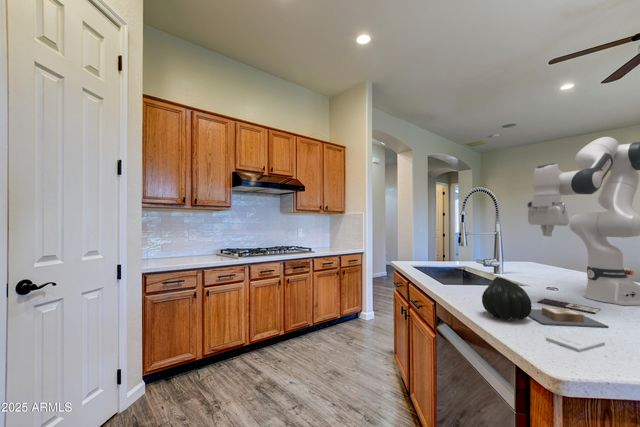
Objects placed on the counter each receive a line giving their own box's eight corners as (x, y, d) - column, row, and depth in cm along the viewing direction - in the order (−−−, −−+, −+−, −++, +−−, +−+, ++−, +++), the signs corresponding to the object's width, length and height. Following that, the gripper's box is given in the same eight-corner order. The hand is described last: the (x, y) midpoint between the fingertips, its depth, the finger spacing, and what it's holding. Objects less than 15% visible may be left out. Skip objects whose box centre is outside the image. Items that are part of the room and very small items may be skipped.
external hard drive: (604, 347, 82) (579, 354, 77) (570, 336, 90) (545, 342, 85) (604, 341, 82) (579, 348, 77) (570, 330, 90) (545, 336, 85)
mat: (572, 312, 111) (572, 310, 111) (608, 328, 95) (608, 326, 95) (516, 309, 113) (516, 308, 113) (542, 324, 97) (542, 323, 97)
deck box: (568, 308, 105) (583, 314, 98) (568, 315, 105) (583, 322, 98) (541, 307, 106) (554, 313, 99) (541, 314, 106) (554, 321, 99)
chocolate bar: (544, 298, 128) (600, 308, 114) (544, 300, 128) (600, 311, 114) (537, 301, 123) (594, 312, 108) (537, 303, 123) (594, 315, 108)
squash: (546, 311, 94) (525, 271, 105) (499, 312, 95) (482, 272, 105) (526, 328, 105) (508, 290, 115) (484, 328, 106) (470, 291, 116)
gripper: (573, 201, 109) (574, 237, 109) (539, 203, 129) (540, 234, 129) (555, 201, 110) (556, 237, 110) (524, 204, 130) (525, 234, 130)
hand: (547, 236), depth 119 cm, fingers closed
